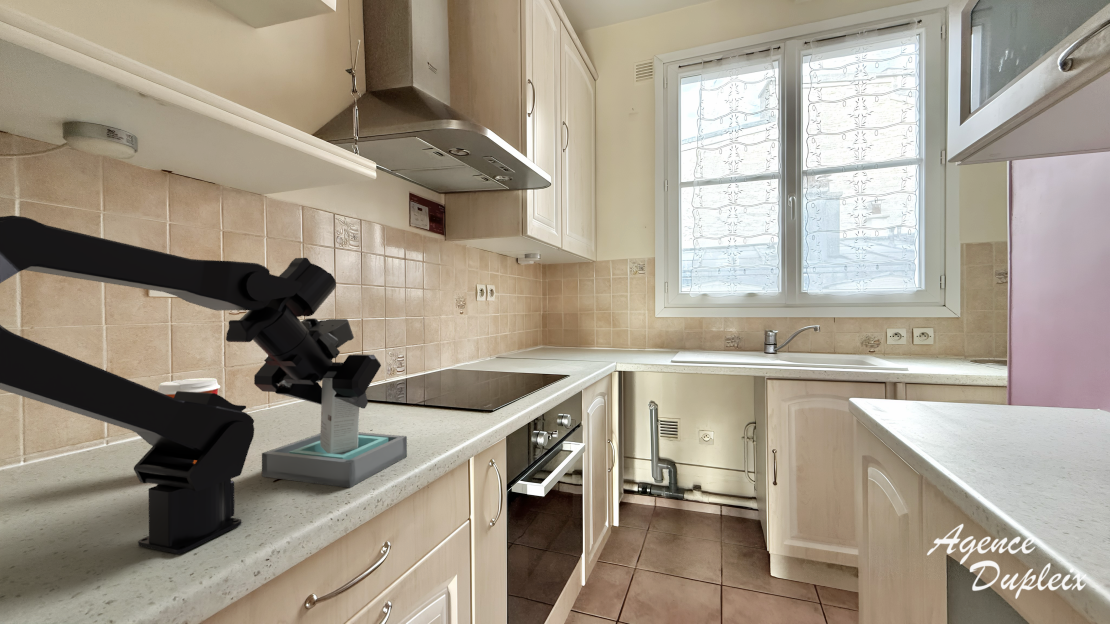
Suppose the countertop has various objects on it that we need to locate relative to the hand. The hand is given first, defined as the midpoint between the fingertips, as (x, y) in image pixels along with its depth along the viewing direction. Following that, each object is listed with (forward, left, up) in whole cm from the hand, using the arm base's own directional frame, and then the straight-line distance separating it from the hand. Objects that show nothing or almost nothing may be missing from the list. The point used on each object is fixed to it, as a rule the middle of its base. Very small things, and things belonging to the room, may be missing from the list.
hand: (346, 404), depth 68 cm
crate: (-1, +1, -10) cm, 10 cm away
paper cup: (-9, +22, -10) cm, 26 cm away
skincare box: (-1, 0, -7) cm, 7 cm away
